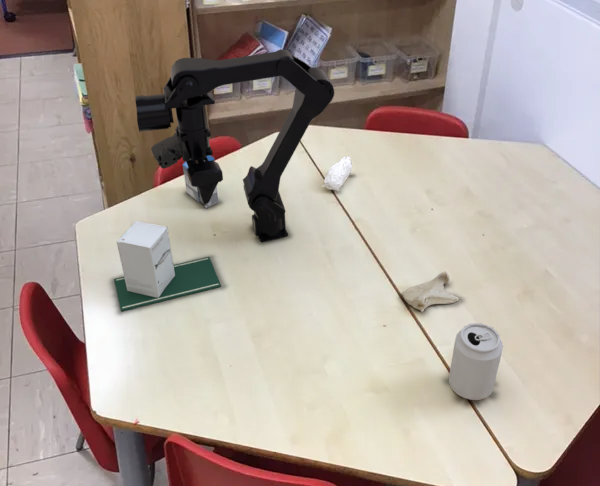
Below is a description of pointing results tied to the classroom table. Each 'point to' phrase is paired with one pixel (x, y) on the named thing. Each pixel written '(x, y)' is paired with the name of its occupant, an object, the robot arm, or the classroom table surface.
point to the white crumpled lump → (338, 174)
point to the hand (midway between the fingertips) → (200, 191)
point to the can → (475, 361)
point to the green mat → (173, 284)
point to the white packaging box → (146, 258)
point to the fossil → (430, 293)
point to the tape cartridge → (195, 191)
